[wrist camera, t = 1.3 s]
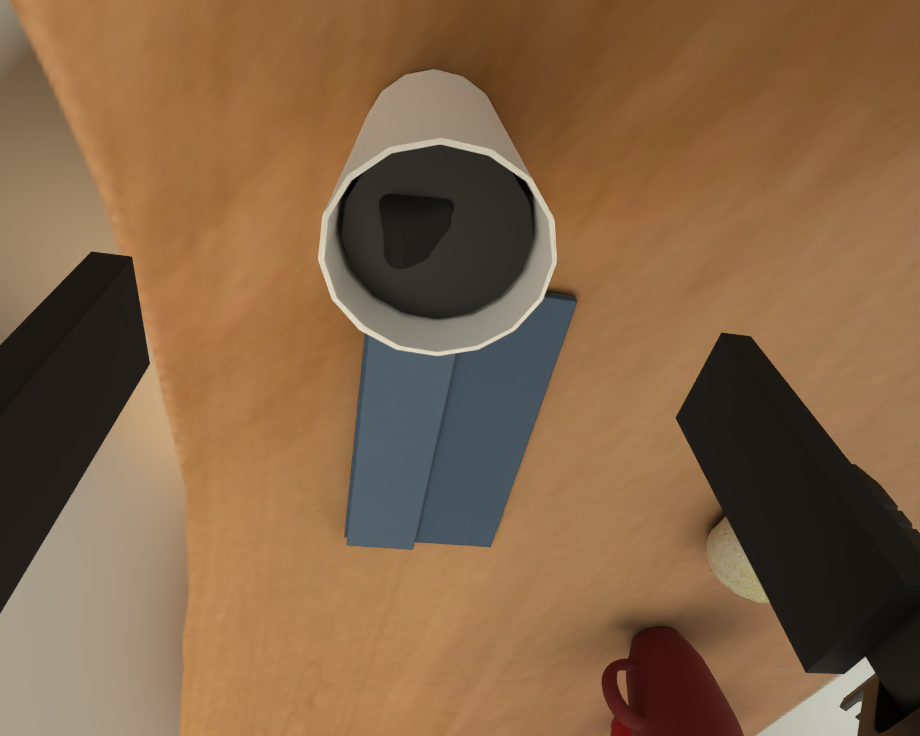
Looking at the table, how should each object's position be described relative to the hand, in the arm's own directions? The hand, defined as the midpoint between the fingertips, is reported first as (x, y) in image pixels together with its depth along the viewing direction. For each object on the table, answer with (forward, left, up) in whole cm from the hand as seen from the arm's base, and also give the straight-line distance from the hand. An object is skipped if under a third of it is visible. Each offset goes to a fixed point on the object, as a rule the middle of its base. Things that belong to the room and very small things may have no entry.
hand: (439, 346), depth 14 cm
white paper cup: (0, 0, -14) cm, 14 cm away
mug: (+38, +24, -14) cm, 47 cm away
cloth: (+16, +3, -14) cm, 21 cm away
